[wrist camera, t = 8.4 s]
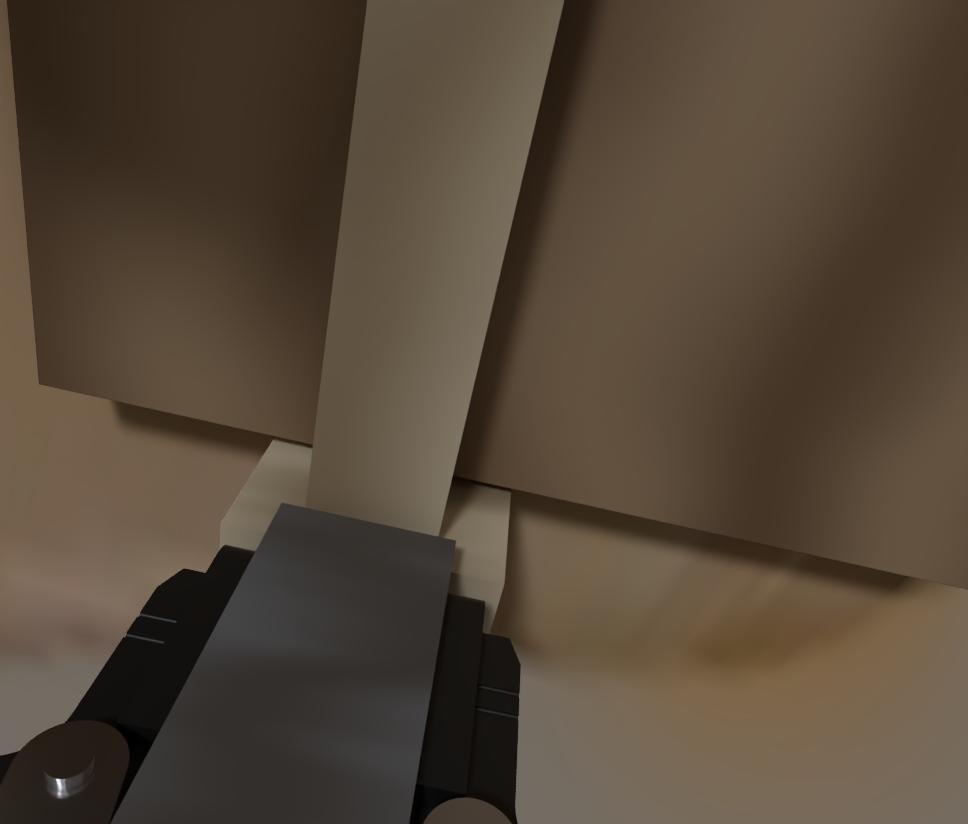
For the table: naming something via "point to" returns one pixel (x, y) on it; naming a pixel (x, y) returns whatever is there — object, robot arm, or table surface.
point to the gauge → (370, 451)
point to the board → (550, 250)
